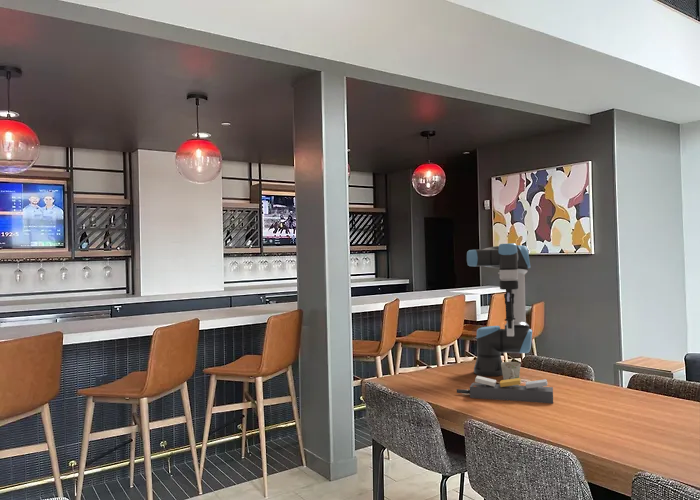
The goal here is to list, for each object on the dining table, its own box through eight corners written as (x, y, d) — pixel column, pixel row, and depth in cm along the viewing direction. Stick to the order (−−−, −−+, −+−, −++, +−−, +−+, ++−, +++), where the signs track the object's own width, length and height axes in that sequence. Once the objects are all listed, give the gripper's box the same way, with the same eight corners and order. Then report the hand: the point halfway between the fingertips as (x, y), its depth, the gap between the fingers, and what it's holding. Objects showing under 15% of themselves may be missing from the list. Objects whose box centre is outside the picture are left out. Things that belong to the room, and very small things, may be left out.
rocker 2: (501, 384, 219) (500, 380, 220) (521, 381, 217) (520, 377, 217) (500, 387, 215) (499, 383, 215) (520, 384, 212) (519, 380, 212)
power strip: (458, 392, 227) (458, 379, 227) (553, 398, 213) (552, 385, 214) (455, 396, 220) (455, 383, 220) (553, 403, 206) (552, 389, 206)
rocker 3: (527, 385, 216) (526, 381, 216) (547, 383, 213) (546, 379, 213) (526, 388, 211) (525, 384, 211) (547, 385, 208) (546, 381, 208)
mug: (518, 383, 240) (518, 361, 241) (525, 390, 228) (524, 367, 228) (500, 383, 241) (499, 361, 241) (505, 390, 229) (504, 367, 229)
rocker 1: (476, 379, 223) (477, 375, 223) (495, 383, 220) (496, 380, 220) (474, 381, 218) (475, 378, 218) (494, 386, 216) (495, 382, 216)
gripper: (501, 279, 232) (503, 333, 231) (497, 280, 218) (499, 338, 217) (519, 279, 229) (521, 333, 228) (516, 280, 215) (518, 338, 214)
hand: (510, 335), depth 223 cm, fingers open, 2 cm apart
